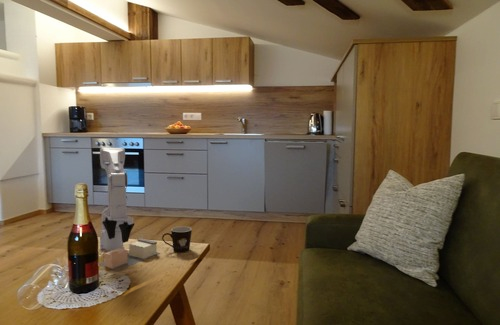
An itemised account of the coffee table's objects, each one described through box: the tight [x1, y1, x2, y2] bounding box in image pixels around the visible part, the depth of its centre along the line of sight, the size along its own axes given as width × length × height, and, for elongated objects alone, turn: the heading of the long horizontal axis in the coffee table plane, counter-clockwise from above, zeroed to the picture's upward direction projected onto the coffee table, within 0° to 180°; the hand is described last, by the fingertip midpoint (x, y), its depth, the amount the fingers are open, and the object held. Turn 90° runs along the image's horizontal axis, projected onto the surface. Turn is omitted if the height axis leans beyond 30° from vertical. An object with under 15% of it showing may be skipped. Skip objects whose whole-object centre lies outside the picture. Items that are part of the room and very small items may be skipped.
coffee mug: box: [161, 226, 193, 254], centre depth 149 cm, size 12×9×10 cm
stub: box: [104, 248, 128, 270], centre depth 132 cm, size 4×7×5 cm, turn 150°
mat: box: [98, 251, 161, 272], centre depth 138 cm, size 11×22×1 cm, turn 150°
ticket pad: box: [128, 237, 158, 260], centre depth 143 cm, size 9×7×5 cm
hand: (118, 240), depth 133 cm, fingers open, 7 cm apart
